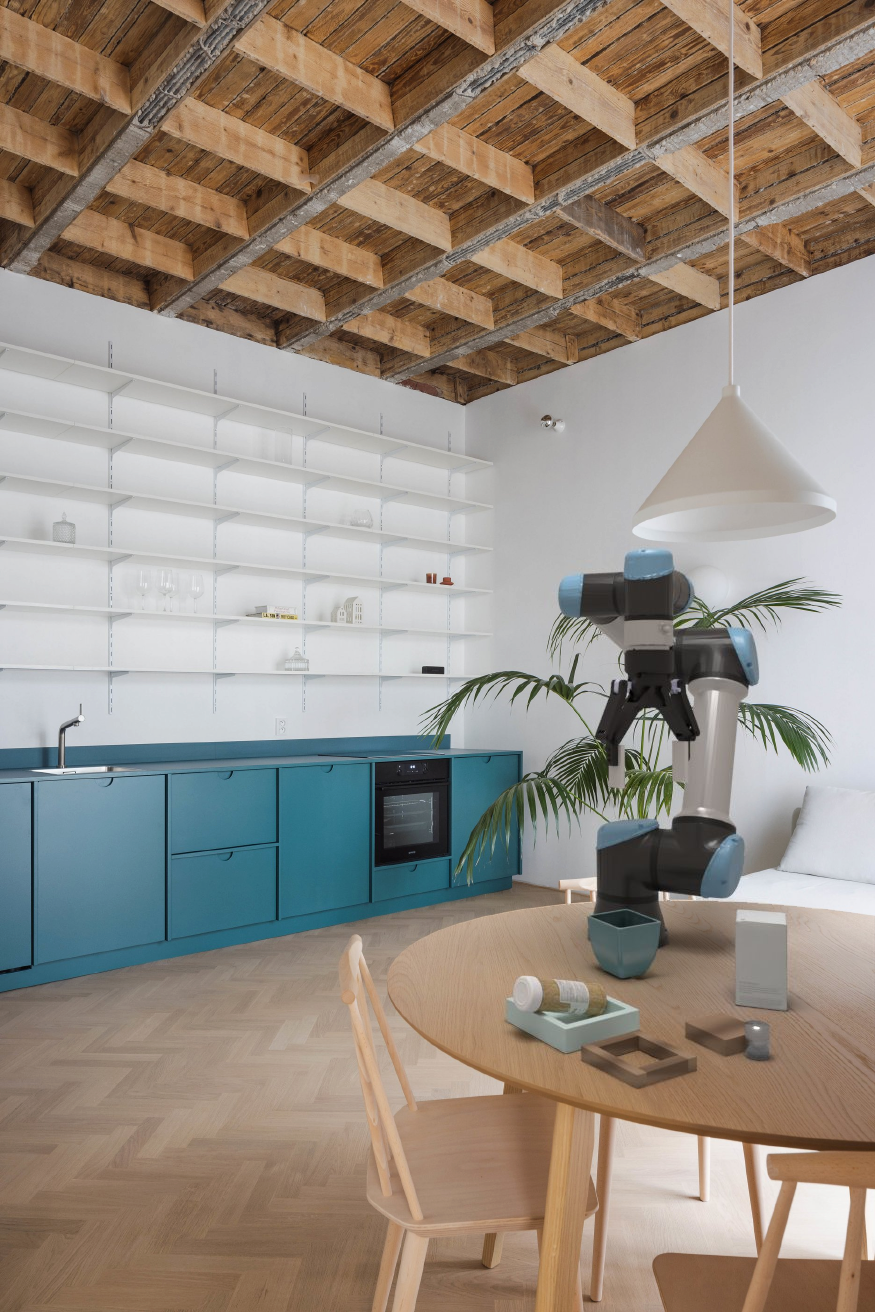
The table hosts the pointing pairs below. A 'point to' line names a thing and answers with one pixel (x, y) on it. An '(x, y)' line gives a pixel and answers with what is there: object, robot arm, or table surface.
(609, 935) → the flower pot
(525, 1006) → the sprinkles bottle
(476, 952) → the table surface
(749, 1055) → the bench dog
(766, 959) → the supplement box
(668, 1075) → the socket block
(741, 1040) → the square wooden coaster
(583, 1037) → the tray
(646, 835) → the robot arm
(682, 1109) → the table surface
